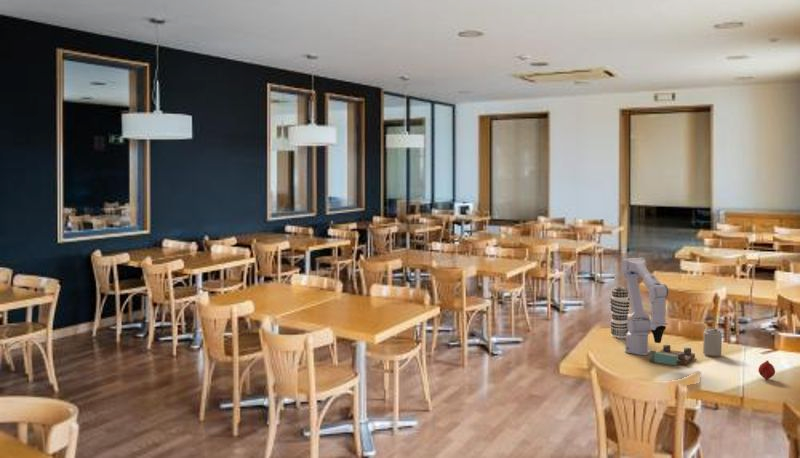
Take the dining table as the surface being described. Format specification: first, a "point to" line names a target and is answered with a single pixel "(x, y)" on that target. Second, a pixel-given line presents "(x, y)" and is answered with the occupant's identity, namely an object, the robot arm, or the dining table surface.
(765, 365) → the onion
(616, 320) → the grey patterned cylinder piece
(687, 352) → the stool seat
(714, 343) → the can
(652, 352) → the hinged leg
